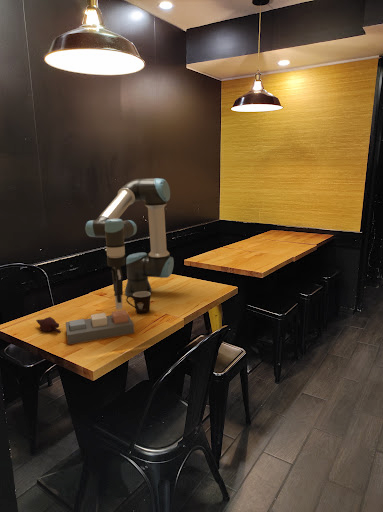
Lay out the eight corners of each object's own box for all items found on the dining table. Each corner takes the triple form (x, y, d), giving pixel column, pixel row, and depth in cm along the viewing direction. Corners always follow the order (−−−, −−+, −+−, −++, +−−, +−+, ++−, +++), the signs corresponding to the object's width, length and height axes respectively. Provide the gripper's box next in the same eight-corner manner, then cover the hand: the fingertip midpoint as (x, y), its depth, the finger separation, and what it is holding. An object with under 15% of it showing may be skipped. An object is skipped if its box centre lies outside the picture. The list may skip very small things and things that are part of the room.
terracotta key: (125, 318, 166) (125, 309, 165) (128, 323, 160) (127, 314, 159) (112, 320, 163) (111, 311, 163) (114, 325, 158) (114, 316, 157)
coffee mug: (155, 312, 183) (154, 293, 181) (143, 318, 176) (142, 298, 174) (137, 307, 189) (136, 289, 187) (125, 313, 182) (124, 294, 180)
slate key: (84, 327, 160) (83, 318, 159) (86, 332, 154) (85, 324, 153) (70, 329, 157) (69, 321, 157) (71, 335, 152) (70, 326, 151)
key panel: (127, 322, 171) (127, 312, 170) (134, 335, 158) (133, 324, 157) (66, 332, 161) (65, 322, 160) (68, 346, 148) (67, 335, 147)
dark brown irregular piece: (27, 318, 161) (50, 328, 154) (41, 309, 167) (64, 318, 160) (32, 331, 165) (54, 341, 157) (45, 321, 170) (67, 330, 163)
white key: (105, 321, 162) (104, 312, 161) (107, 326, 157) (106, 317, 156) (91, 323, 160) (90, 314, 159) (93, 328, 155) (92, 319, 154)
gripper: (104, 253, 160) (108, 305, 165) (109, 260, 148) (113, 315, 153) (121, 252, 162) (124, 302, 167) (127, 258, 150) (130, 312, 156)
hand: (119, 308), depth 160 cm, fingers closed
